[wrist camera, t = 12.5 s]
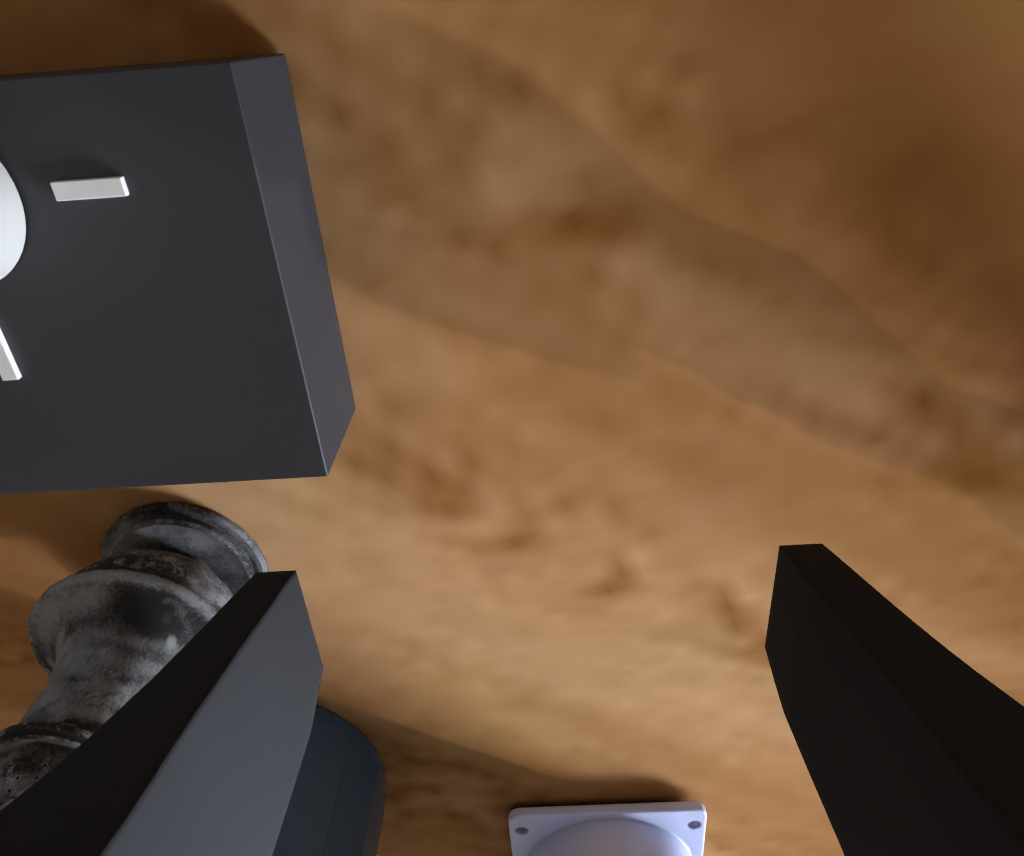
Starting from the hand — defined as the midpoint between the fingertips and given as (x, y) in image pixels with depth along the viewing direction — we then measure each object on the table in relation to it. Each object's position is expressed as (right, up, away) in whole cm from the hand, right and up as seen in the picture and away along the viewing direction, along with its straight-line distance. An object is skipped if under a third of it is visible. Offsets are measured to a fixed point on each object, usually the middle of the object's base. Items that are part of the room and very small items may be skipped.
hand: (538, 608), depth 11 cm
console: (-12, +7, +8) cm, 15 cm away
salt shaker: (-11, -2, +13) cm, 17 cm away
